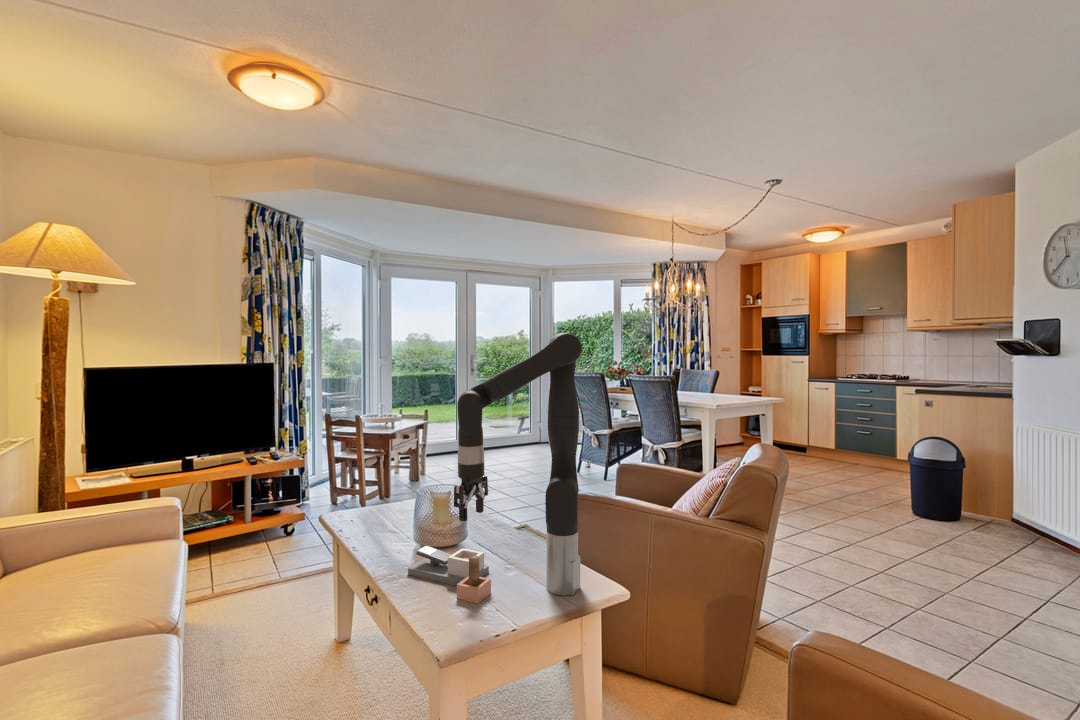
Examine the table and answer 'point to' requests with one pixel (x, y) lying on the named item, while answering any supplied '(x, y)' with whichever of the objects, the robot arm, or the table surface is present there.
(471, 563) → the brown rectangular block
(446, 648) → the table surface
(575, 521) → the robot arm
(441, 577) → the grey base slab
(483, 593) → the holder
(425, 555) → the rocker switch
